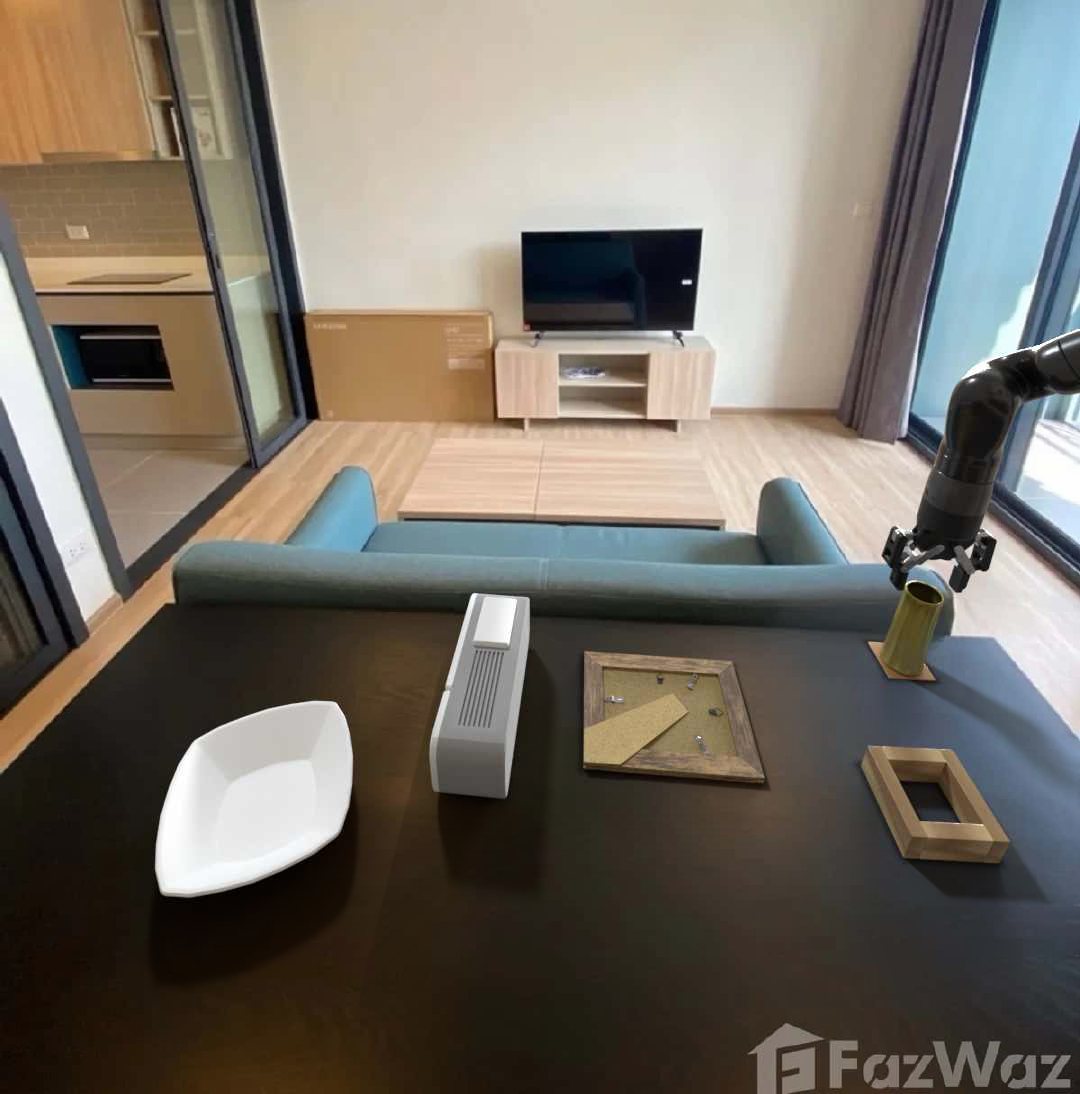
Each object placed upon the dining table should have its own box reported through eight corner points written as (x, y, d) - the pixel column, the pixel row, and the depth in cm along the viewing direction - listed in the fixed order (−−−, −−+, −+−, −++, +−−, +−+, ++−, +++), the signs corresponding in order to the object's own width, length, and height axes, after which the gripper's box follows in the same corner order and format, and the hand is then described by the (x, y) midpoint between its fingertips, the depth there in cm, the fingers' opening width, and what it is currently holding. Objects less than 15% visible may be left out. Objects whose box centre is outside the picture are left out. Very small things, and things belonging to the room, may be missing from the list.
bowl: (188, 757, 79) (179, 731, 77) (353, 711, 86) (349, 685, 84) (147, 949, 60) (134, 921, 58) (362, 871, 67) (357, 843, 65)
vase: (909, 645, 97) (932, 578, 91) (931, 676, 91) (957, 607, 86) (872, 645, 97) (893, 577, 91) (892, 676, 91) (915, 606, 86)
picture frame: (583, 770, 78) (763, 785, 76) (583, 761, 77) (765, 776, 76) (584, 657, 95) (731, 667, 93) (584, 649, 94) (732, 659, 93)
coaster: (910, 646, 98) (911, 643, 97) (935, 682, 91) (936, 679, 91) (866, 644, 98) (867, 641, 98) (888, 680, 91) (889, 677, 91)
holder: (943, 771, 78) (952, 749, 76) (998, 865, 68) (1010, 841, 66) (859, 767, 79) (867, 745, 77) (902, 859, 68) (912, 836, 67)
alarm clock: (475, 637, 99) (472, 582, 94) (529, 642, 98) (529, 587, 93) (433, 805, 74) (427, 742, 69) (505, 813, 73) (504, 750, 68)
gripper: (917, 512, 79) (890, 604, 86) (1025, 515, 78) (990, 607, 85) (890, 483, 86) (866, 569, 93) (989, 485, 85) (959, 572, 92)
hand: (925, 587), depth 89 cm, fingers open, 8 cm apart
